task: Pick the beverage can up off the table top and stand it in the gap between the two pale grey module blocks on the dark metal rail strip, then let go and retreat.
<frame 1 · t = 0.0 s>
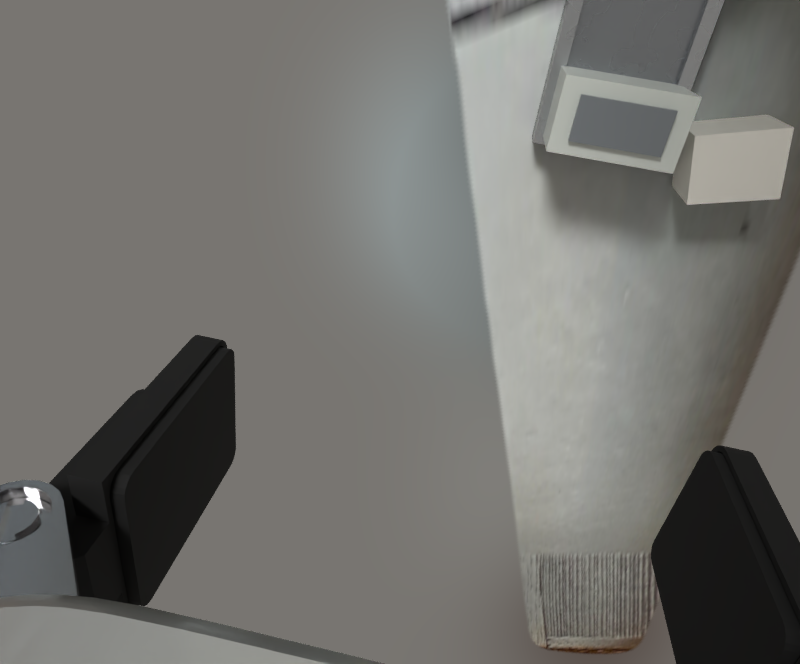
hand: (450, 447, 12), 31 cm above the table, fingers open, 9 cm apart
module b: (605, 106, 36), resting on rail
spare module: (717, 151, 37), on the table
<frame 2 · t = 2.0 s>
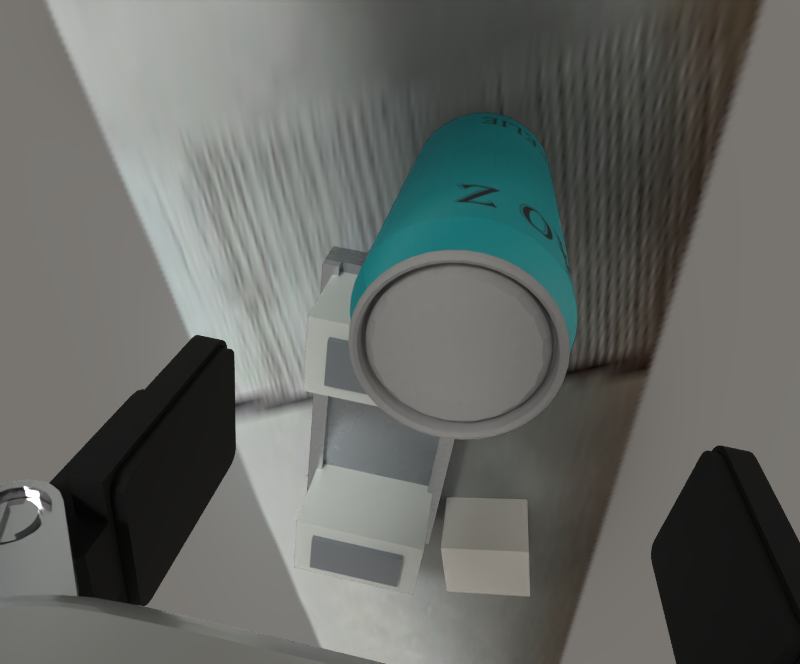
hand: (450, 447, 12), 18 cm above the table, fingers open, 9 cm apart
module a: (404, 305, 30), resting on rail
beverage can: (482, 170, 26), on the table
rail: (389, 401, 34), on the table
module b: (377, 479, 37), resting on rail
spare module: (488, 519, 38), on the table
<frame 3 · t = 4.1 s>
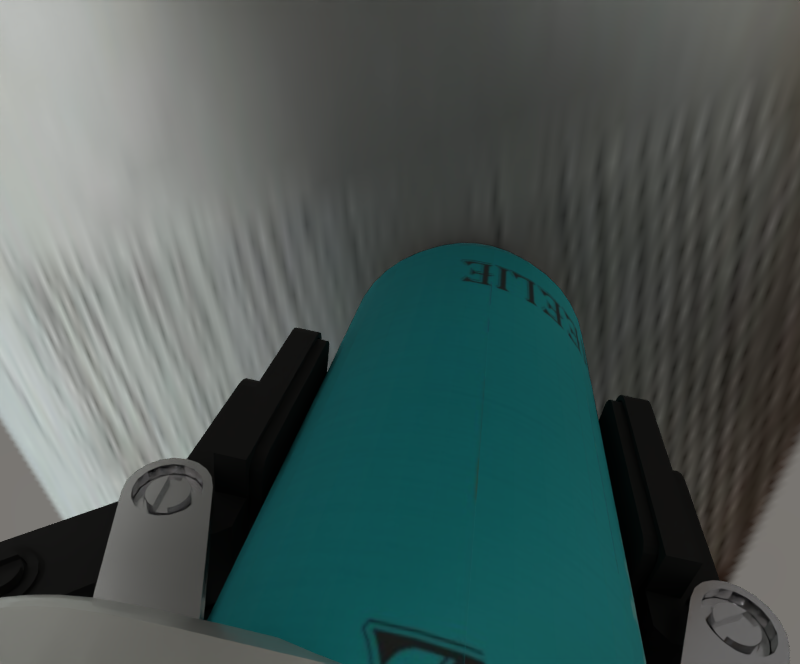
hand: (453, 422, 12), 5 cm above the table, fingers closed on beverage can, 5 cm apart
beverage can: (468, 315, 16), on the table, touching gripper
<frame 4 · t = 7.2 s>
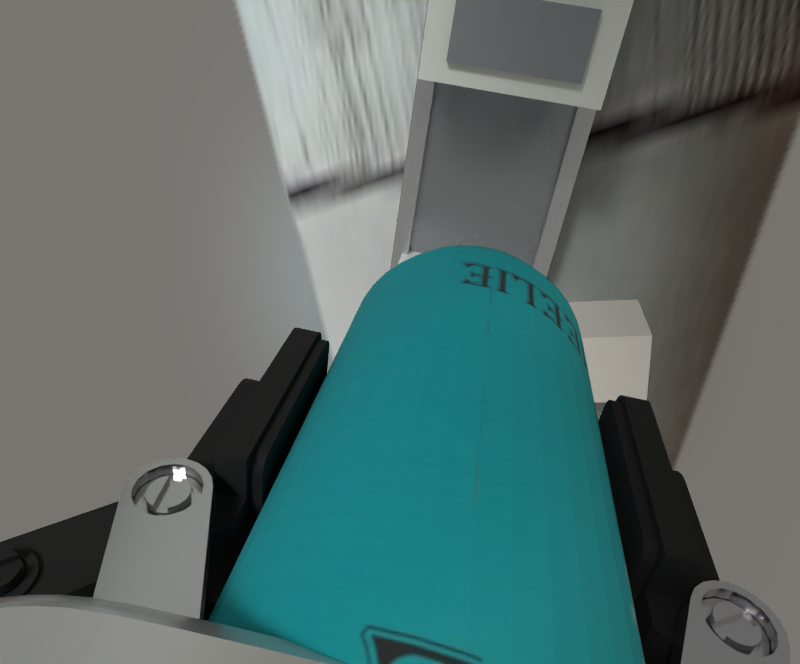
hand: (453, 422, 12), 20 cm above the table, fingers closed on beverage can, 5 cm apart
module a: (519, 26, 26), resting on rail
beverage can: (468, 317, 16), point 16 cm above the table, touching gripper
rail: (488, 170, 30), on the table
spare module: (588, 331, 33), on the table
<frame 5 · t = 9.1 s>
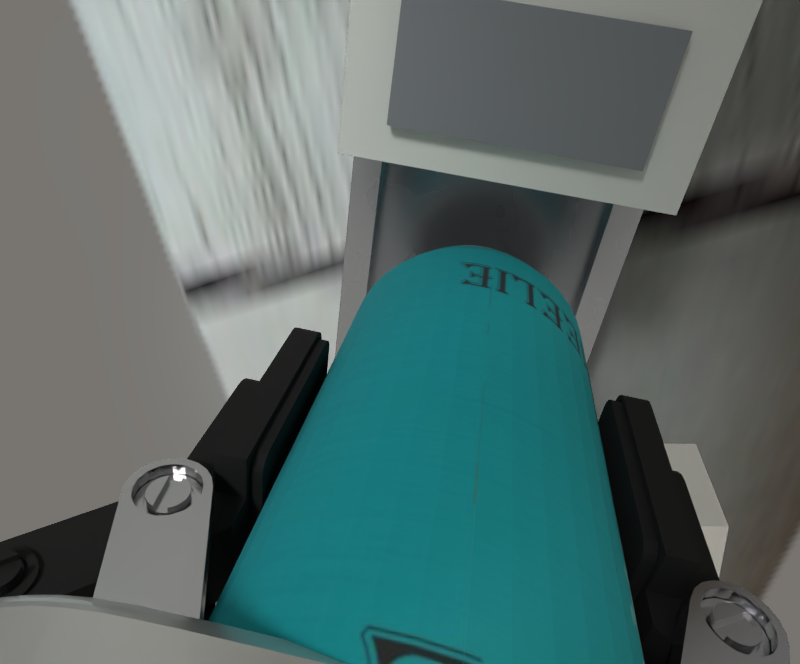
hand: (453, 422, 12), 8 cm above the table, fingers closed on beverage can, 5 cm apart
module a: (523, 49, 16), resting on rail
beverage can: (468, 317, 16), point 4 cm above the table, touching gripper
rail: (475, 264, 19), on the table
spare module: (621, 480, 23), on the table
when the fingers open (7 cm above the table, at t = 10.2 s): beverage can drops 1 cm, resting on rail.
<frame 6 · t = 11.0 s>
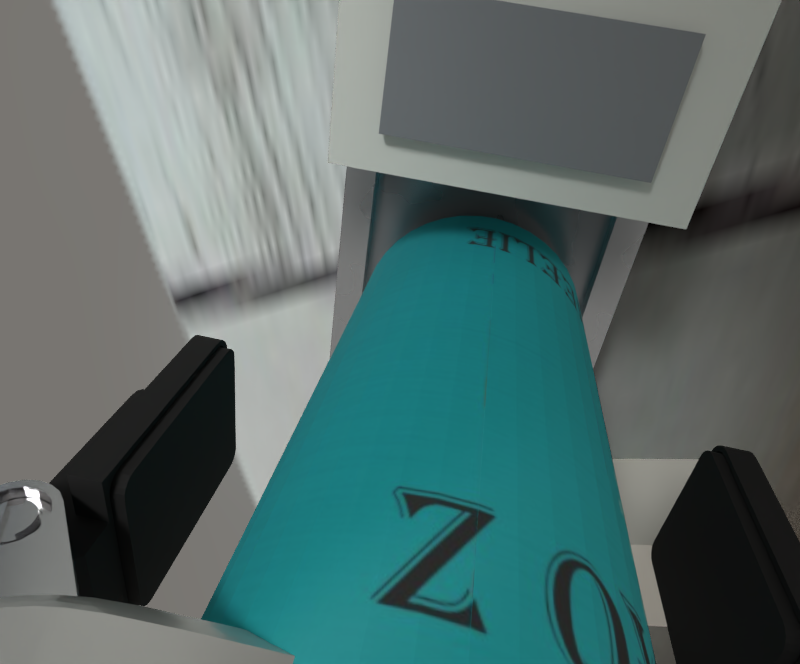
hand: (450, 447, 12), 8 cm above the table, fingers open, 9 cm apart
module a: (523, 53, 15), resting on rail
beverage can: (472, 286, 18), point 1 cm above the table, touching rail
rail: (474, 274, 19), on the table
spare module: (624, 496, 23), on the table
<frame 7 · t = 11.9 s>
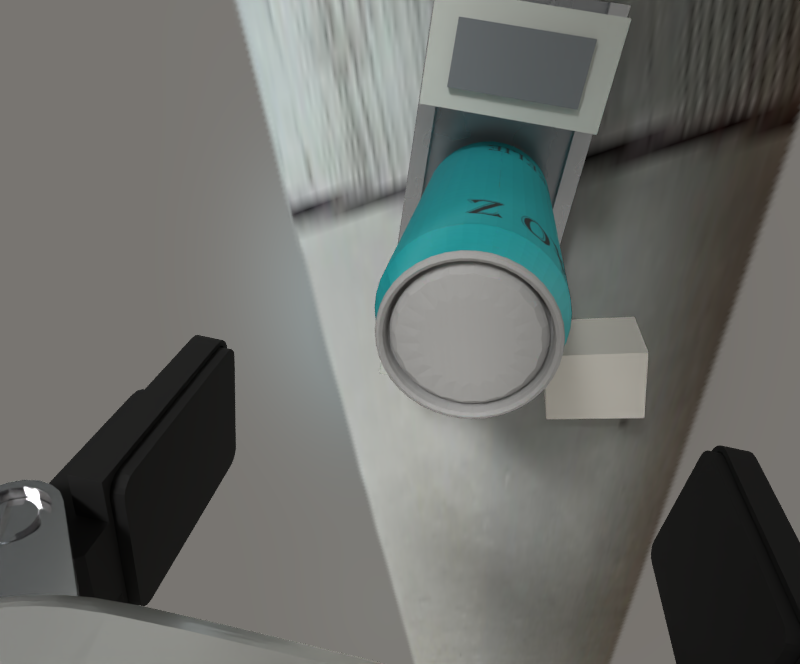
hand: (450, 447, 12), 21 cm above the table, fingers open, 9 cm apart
module a: (518, 53, 27), resting on rail
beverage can: (487, 193, 29), point 1 cm above the table, touching rail
rail: (487, 190, 30), on the table
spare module: (586, 348, 34), on the table
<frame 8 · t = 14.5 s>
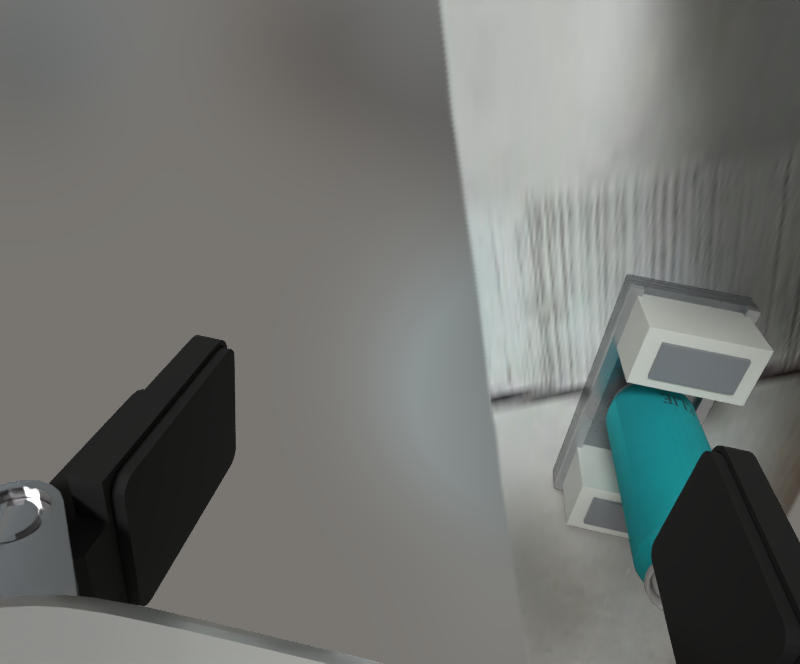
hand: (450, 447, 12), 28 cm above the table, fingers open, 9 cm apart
module a: (673, 318, 40), resting on rail
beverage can: (644, 402, 42), point 1 cm above the table, touching rail
rail: (640, 394, 43), on the table
module b: (611, 458, 46), resting on rail
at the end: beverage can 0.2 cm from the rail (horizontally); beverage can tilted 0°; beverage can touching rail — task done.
